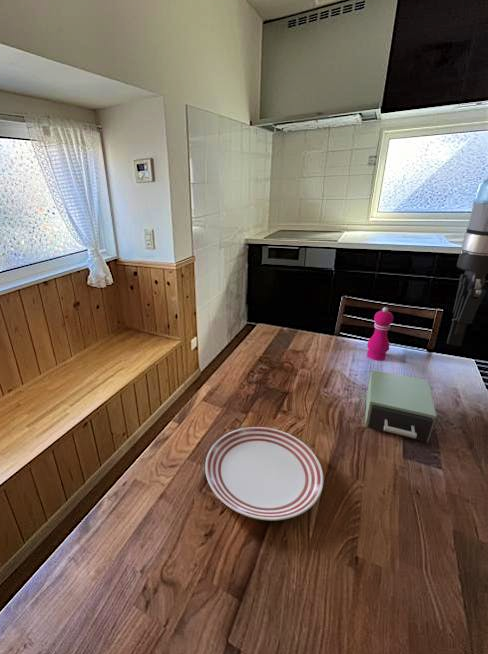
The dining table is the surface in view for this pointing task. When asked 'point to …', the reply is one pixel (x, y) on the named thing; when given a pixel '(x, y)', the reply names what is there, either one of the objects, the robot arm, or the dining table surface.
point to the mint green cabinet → (400, 395)
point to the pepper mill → (380, 335)
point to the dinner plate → (264, 473)
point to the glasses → (269, 364)
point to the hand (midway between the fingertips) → (453, 343)
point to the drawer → (400, 423)
